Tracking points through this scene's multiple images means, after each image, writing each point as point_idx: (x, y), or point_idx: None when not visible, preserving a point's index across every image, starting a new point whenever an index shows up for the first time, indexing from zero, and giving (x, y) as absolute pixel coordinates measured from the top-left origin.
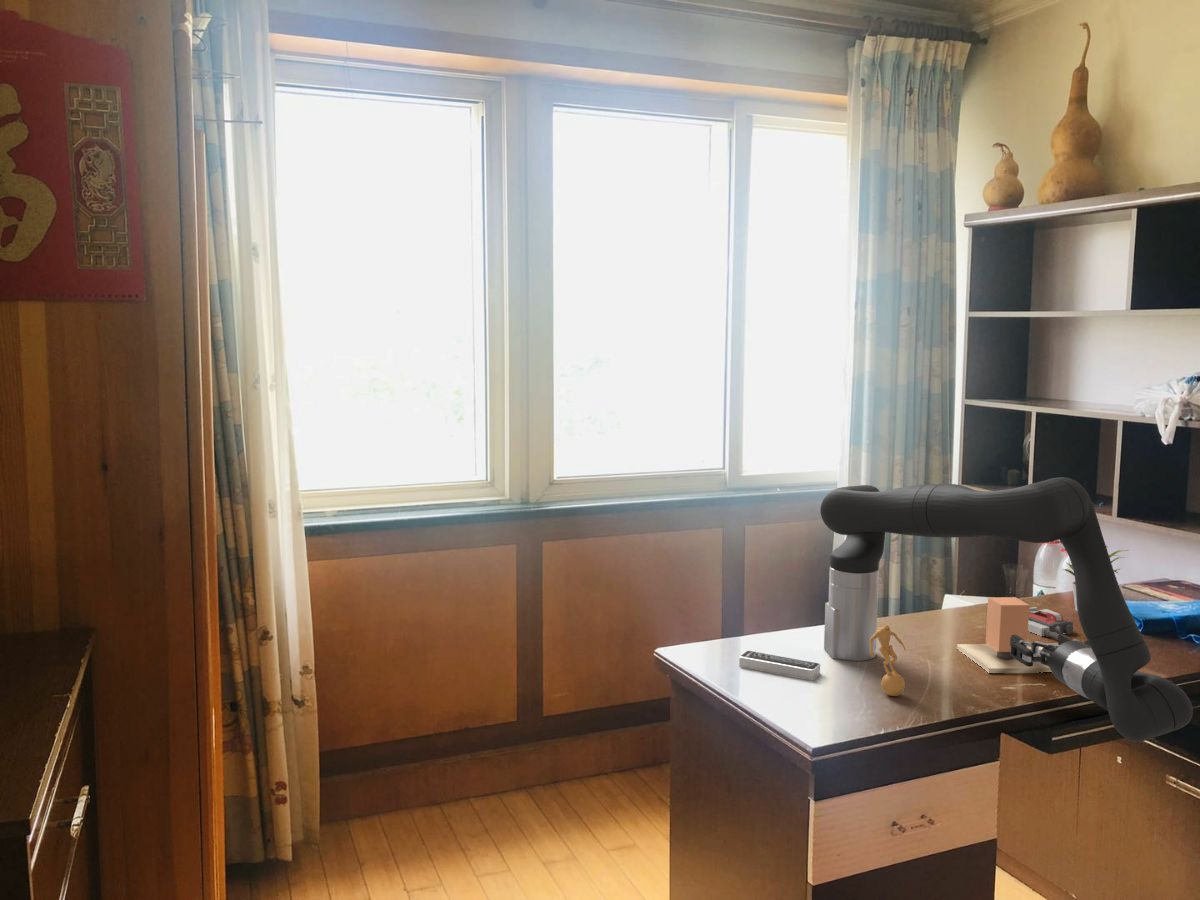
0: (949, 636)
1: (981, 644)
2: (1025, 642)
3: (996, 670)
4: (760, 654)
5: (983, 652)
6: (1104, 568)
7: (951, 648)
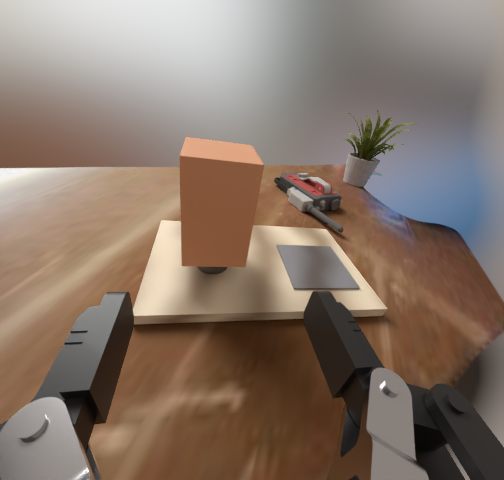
0: None
1: None
2: (21, 464)
3: (152, 319)
4: None
5: None
6: None
7: (155, 225)
